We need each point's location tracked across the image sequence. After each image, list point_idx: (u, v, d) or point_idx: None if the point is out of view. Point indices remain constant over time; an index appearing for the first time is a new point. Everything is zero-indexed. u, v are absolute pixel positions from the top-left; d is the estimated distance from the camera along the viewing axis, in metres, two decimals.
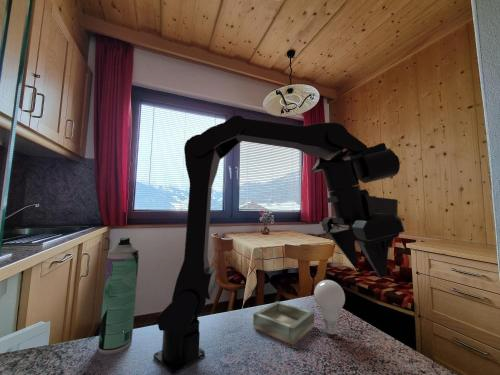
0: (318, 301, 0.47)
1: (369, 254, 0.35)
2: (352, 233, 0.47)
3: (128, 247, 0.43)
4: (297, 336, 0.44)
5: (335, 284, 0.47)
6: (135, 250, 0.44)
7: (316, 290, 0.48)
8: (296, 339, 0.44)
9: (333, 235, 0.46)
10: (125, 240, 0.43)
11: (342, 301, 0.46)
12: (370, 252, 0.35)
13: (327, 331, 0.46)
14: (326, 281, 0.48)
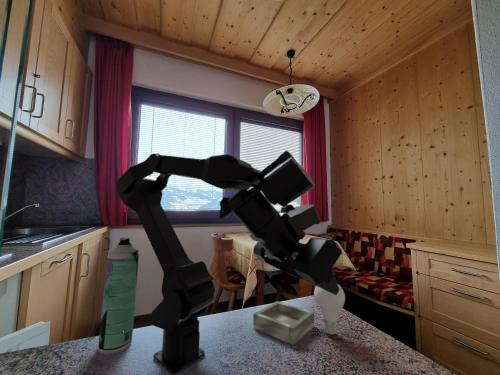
0: (318, 301, 0.47)
1: (320, 286, 0.32)
2: None
3: (128, 247, 0.43)
4: (297, 336, 0.44)
5: None
6: (135, 250, 0.44)
7: (316, 290, 0.48)
8: (296, 339, 0.44)
9: (272, 263, 0.41)
10: (125, 240, 0.43)
11: (342, 301, 0.46)
12: (320, 283, 0.32)
13: (327, 331, 0.46)
14: None
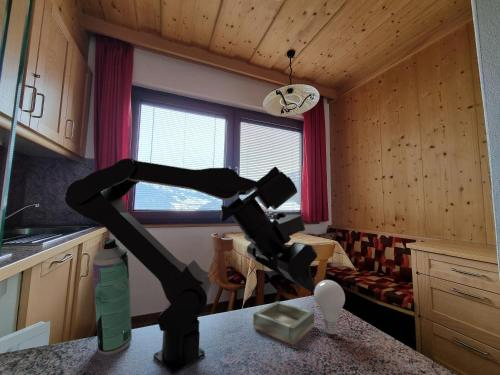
0: (318, 301, 0.47)
1: (298, 283, 0.38)
2: None
3: (115, 250, 0.40)
4: (297, 336, 0.44)
5: (335, 284, 0.47)
6: (123, 252, 0.40)
7: (316, 290, 0.48)
8: (296, 339, 0.44)
9: (261, 262, 0.48)
10: (110, 243, 0.40)
11: (342, 301, 0.46)
12: (298, 281, 0.38)
13: (327, 331, 0.46)
14: (326, 281, 0.48)
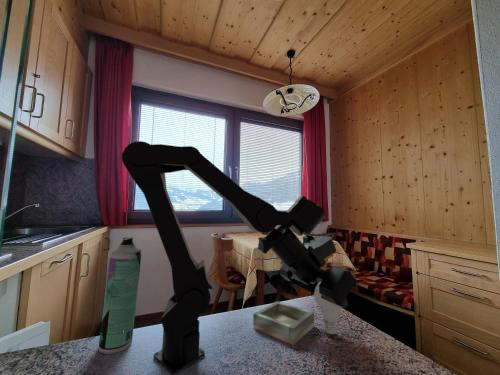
0: (318, 301, 0.47)
1: None
2: None
3: (131, 247, 0.43)
4: (297, 336, 0.44)
5: None
6: (138, 250, 0.44)
7: (316, 290, 0.48)
8: (296, 339, 0.44)
9: (299, 285, 0.50)
10: (128, 240, 0.43)
11: None
12: None
13: (327, 331, 0.46)
14: None
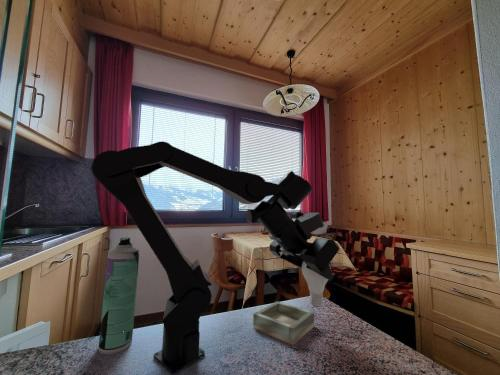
0: (305, 274, 0.48)
1: (319, 272, 0.44)
2: None
3: (129, 247, 0.43)
4: (297, 336, 0.44)
5: None
6: (136, 250, 0.44)
7: (303, 264, 0.49)
8: (296, 339, 0.44)
9: (287, 259, 0.51)
10: (126, 240, 0.43)
11: None
12: (319, 271, 0.44)
13: (313, 303, 0.47)
14: None
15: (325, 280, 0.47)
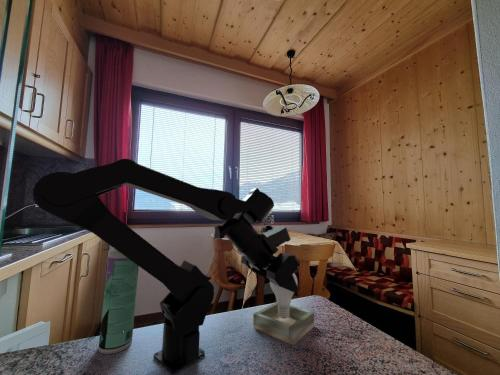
0: (272, 286, 0.50)
1: (282, 286, 0.45)
2: None
3: None
4: (297, 336, 0.44)
5: None
6: None
7: None
8: (296, 339, 0.44)
9: (257, 272, 0.53)
10: None
11: None
12: None
13: (280, 315, 0.49)
14: None
15: (291, 292, 0.48)
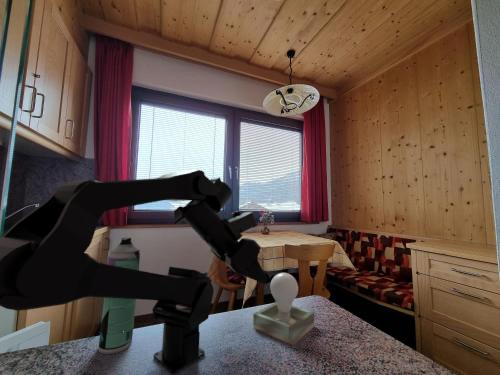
0: (272, 292, 0.49)
1: (247, 276, 0.41)
2: None
3: (130, 247, 0.44)
4: (297, 336, 0.44)
5: (289, 276, 0.50)
6: (137, 250, 0.44)
7: (271, 282, 0.50)
8: (296, 339, 0.44)
9: (223, 259, 0.51)
10: (127, 240, 0.44)
11: (294, 292, 0.48)
12: (247, 274, 0.41)
13: None
14: (281, 274, 0.51)
15: (291, 299, 0.48)
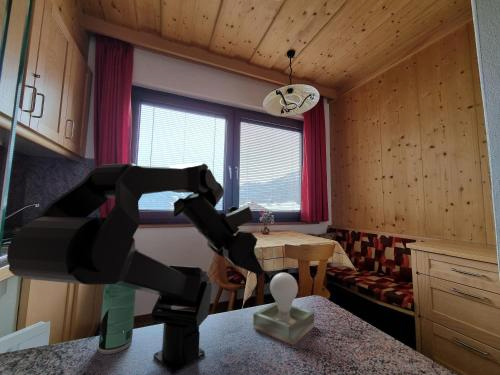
0: (272, 292, 0.49)
1: (244, 267, 0.42)
2: None
3: None
4: (297, 336, 0.44)
5: (288, 276, 0.50)
6: None
7: (271, 282, 0.50)
8: (296, 339, 0.44)
9: (219, 253, 0.52)
10: None
11: (293, 292, 0.48)
12: (244, 266, 0.42)
13: None
14: (281, 273, 0.51)
15: (291, 298, 0.48)
